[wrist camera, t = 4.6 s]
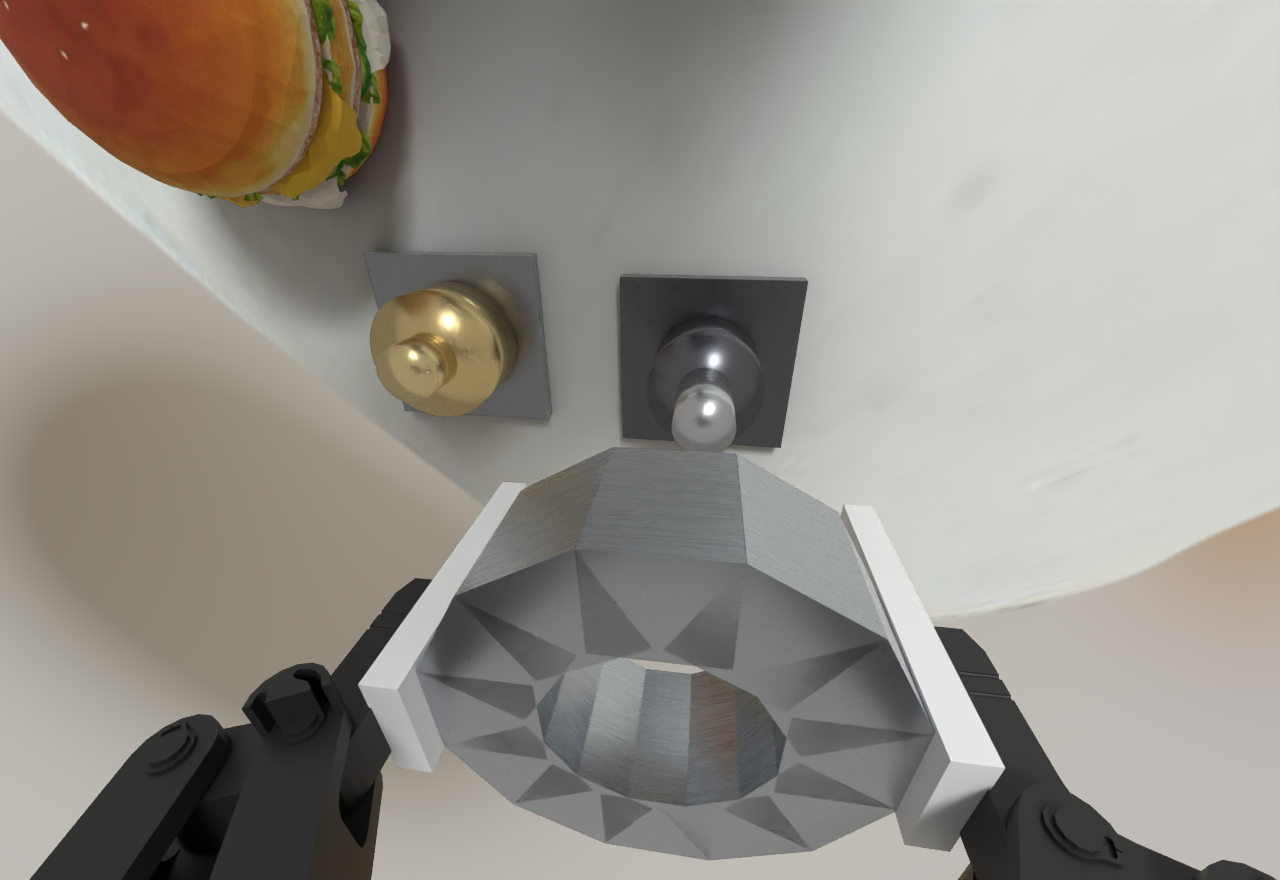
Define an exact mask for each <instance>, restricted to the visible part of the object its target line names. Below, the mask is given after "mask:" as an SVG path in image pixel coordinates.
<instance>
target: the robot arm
mask: <svg viewBox="0 0 1280 880" xmlns="http://www.w3.org/2000/svg"><path fill="white" fill-rule="evenodd" d="M524 488H527V483H513V482H502V484H501V485H500V486H499V488H498V489H497V491H496V492H495V493H494V495H493V496H492V498H491V499H490V500H489V502H488V503H487V505H486V506H485V507H484V509H483V510H482V512H481V513H480V514H479V516H478V517H477V519H476V520H475V521H474V523H473V524H472V526H471V527H470V529H469V530H468V531H467V533H466V534H465V535H464V537H463V538H462V540H461V541H460V542H459V544H458V545H457V547H456V548H455V550H454V551H453V552H452V554H451V555H450V557H449V558H448V559H447V561H446V562H445V563H444V565H443V566H442V568H441V569H440V571H439V572H438V573H437V575H436V576H435V577H434V579H433V580H430V579H418V578H415V579H414V580H412V581H411V582H410V583H408V584H407V585H406V586H404V587H403V588H402V589H400V590H399V591H398V592H396V593H395V595H394V596H393V597H392V599H391V600H390V601H389V602H388V604H387V605H386V606H385V607H384V609H383V610H382V613H381V615H380V614H379V615H378V616H377V618H376V619H375V620H374V621H373V623H372V624H371V625H370V629H369V630H366V632H365V633H364V634H363V635H362V637H361V638H360V640H359V641H358V642H357V643H356V644H355V646H354V647H353V648H352V650H351V651H350V652H349V653H348V655H347V656H346V657H345V658H344V660H343V661H342V662H341V664H340V665H339V666H338V668H337V669H336V670H335V671H334V673H333V674H332V675H331V676H330V674H329V672H328V671H327V670H326V669H325V667H324V666H322V665H319V664H315V663H306V664H298V665H295V666H292V667H290V668H287V669H285V670H282V671H280V672H279V673H277V674H275V675H274V676H272V677H271V678H269V679H268V680H266V681H265V682H263V683H262V684H261V685H260V686H259V687H258V688H257V689H256V690H255V691H254V692H253V693H252V694H251V695H250V696H249V698H248V700H247V701H246V703H245V704H244V706H243V708H242V710H243V712H244V713H245V715H246V716H247V718H248V719H249V720H250V722H251V724H246V725H241V726H235V727H231V728H226V729H223V728H222V726H221V725H220V724H219V722H218V721H217V720H216V719H215V718H214V717H213V716H210V715H201V714H198V715H194V716H190V717H186V718H182V719H180V720H178V721H176V722H174V723H172V724H170V725H168V726H166V727H164V728H162V729H161V730H160V731H158V732H157V733H155V734H154V735H153V736H151V737H150V738H148V739H147V740H146V741H145V742H144V743H143V744H142V745H141V746H140V747H139V748H138V749H137V750H136V751H135V752H134V753H133V754H132V755H131V756H130V757H129V758H128V760H127V761H126V762H125V763H124V764H123V766H122V767H121V768H120V770H119V771H118V772H117V773H116V774H115V775H114V777H113V778H112V779H111V781H110V782H109V783H108V784H107V785H106V787H105V788H104V789H103V790H102V791H101V793H100V794H99V795H98V796H97V798H96V799H95V800H94V801H93V802H92V804H91V805H90V806H89V807H88V809H87V810H86V811H85V812H84V814H83V815H82V816H81V817H80V818H79V820H78V821H77V822H76V824H75V825H74V826H73V827H72V828H71V830H70V831H69V832H68V833H67V834H66V836H65V837H64V838H63V840H62V841H61V842H60V843H59V844H58V846H57V847H56V848H55V849H54V850H53V852H52V853H51V854H50V855H49V856H48V858H47V859H46V860H45V861H44V863H43V864H42V865H41V866H40V868H39V869H38V870H37V871H36V873H35V874H34V875H33V876H32V877H31V879H30V880H371V876H372V868H373V860H374V852H375V844H376V836H377V828H378V820H379V813H380V805H381V797H382V789H383V782H382V774H381V772H380V771H381V769H382V767H383V765H384V763H385V762H386V760H387V758H388V756H389V755H390V753H391V754H392V756H393V758H394V761H395V763H396V765H397V767H398V768H403V769H409V770H416V771H423V772H429V773H432V772H433V771H434V768H435V767H436V764H437V762H438V760H439V758H440V756H441V754H442V752H443V750H444V748H445V746H444V744H443V742H442V739H441V737H440V734H439V731H438V729H437V726H436V723H435V721H434V718H433V716H432V713H431V710H430V708H429V705H428V702H427V700H426V697H425V694H424V692H423V689H422V687H421V684H420V681H419V679H418V676H417V673H416V669H417V667H418V665H419V664H420V662H421V660H422V658H423V656H424V654H425V652H426V650H427V648H428V646H429V644H430V642H431V640H432V638H433V636H434V634H435V632H436V630H437V628H438V626H439V624H440V622H441V620H442V618H443V616H444V614H445V612H446V610H447V608H448V606H449V604H450V602H451V600H452V599H453V597H454V595H455V593H456V592H457V590H458V589H459V587H460V585H461V584H462V582H463V581H464V579H465V578H466V576H467V574H468V573H469V571H470V570H471V568H472V567H473V565H474V563H475V562H476V560H477V559H478V557H479V555H480V554H481V552H482V551H483V549H484V548H485V546H486V544H487V543H488V541H489V540H490V538H491V537H492V535H493V533H494V532H495V530H496V529H497V527H498V525H499V524H500V522H501V521H502V519H503V518H504V516H505V514H506V513H507V511H508V510H509V508H510V507H511V505H512V503H513V502H514V500H515V499H516V497H517V496H518V494H519V492H520V491H521V490H522V489H524ZM841 519H842V521H843V523H844V525H845V527H846V529H847V532H848V534H849V536H850V538H851V540H852V542H853V544H854V546H855V548H856V550H857V552H858V554H859V556H860V558H861V560H862V562H863V564H864V566H865V568H866V570H867V572H868V575H869V577H870V579H871V581H872V583H873V585H874V587H875V589H876V591H877V593H878V596H879V598H880V601H881V603H882V605H883V608H884V610H885V613H886V615H887V618H888V620H889V622H890V625H891V627H892V630H893V632H894V635H895V637H896V639H897V642H898V644H899V647H900V649H901V652H902V654H903V657H904V659H905V661H906V664H907V666H908V669H909V671H910V674H911V676H912V678H913V681H914V683H915V686H916V688H917V691H918V693H919V695H920V698H921V700H922V703H923V705H924V708H925V710H926V713H927V715H928V717H929V720H930V722H931V725H932V727H933V730H934V732H935V734H934V736H933V738H932V740H931V742H930V744H929V746H928V748H927V750H926V752H925V754H924V756H923V758H922V760H921V762H920V764H919V766H918V768H917V770H916V772H915V774H914V776H913V778H912V780H911V782H910V784H909V786H908V788H907V790H906V792H905V794H904V796H903V798H902V800H901V802H900V804H899V806H898V808H897V810H896V812H895V814H896V817H897V820H898V824H899V827H900V831H901V834H902V838H903V841H904V844H905V845H910V846H917V847H923V848H929V849H936V850H943V851H949V852H950V851H951V849H952V848H953V846H954V845H955V843H956V842H957V840H958V839H959V837H960V836H961V839H962V842H963V844H964V847H965V849H966V852H967V855H968V857H969V860H970V864H969V865H968V867H967V868H966V870H965V871H964V872H963V873H962V875H961V876H960V878H959V879H958V880H1276V879H1274V878H1273V877H1271V876H1270V875H1267V874H1265V873H1263V872H1261V871H1258V870H1257V869H1254V868H1252V867H1250V866H1248V865H1246V864H1242V863H1237V862H1231V861H1226V860H1221V861H1218V862H1216V863H1213V864H1211V865H1209V866H1207V867H1206V868H1205V869H1203V870H1202V871H1199V870H1197V869H1195V868H1192V867H1190V866H1187V865H1185V864H1183V863H1181V862H1178V861H1176V860H1173V859H1171V858H1169V857H1167V856H1164V855H1162V854H1160V853H1157V852H1155V851H1153V850H1150V849H1148V848H1146V847H1143V846H1141V845H1139V844H1136V843H1135V842H1133V841H1131V840H1129V839H1126V838H1125V837H1123V836H1121V835H1119V834H1117V833H1116V831H1115V830H1114V829H1113V827H1112V826H1111V824H1110V823H1108V822H1107V821H1106V820H1105V819H1104V818H1103V817H1102V816H1101V815H1100V814H1099V813H1098V812H1097V811H1096V810H1095V809H1093V808H1092V807H1091V806H1090V805H1089V804H1087V803H1085V802H1084V801H1082V800H1081V799H1079V798H1078V797H1076V796H1075V795H1073V794H1071V793H1070V792H1069V791H1068V789H1067V788H1066V787H1065V785H1064V784H1063V782H1062V781H1061V779H1060V778H1059V776H1058V774H1057V773H1056V771H1055V769H1054V767H1053V766H1052V764H1051V762H1050V761H1049V759H1048V757H1047V756H1046V754H1045V752H1044V751H1043V749H1042V747H1041V746H1040V744H1039V742H1038V741H1037V739H1036V737H1035V735H1034V734H1033V732H1032V730H1031V729H1030V727H1029V725H1028V724H1027V722H1026V720H1025V719H1024V717H1023V715H1022V713H1021V712H1020V710H1019V708H1018V707H1017V705H1016V703H1015V702H1014V701H1013V700H1011V697H1010V696H1011V695H1010V693H1009V691H1008V690H1007V688H1006V686H1005V685H1004V683H1003V681H1002V680H1000V679H999V674H998V673H997V671H996V669H995V668H994V666H993V664H992V663H991V661H990V659H989V658H988V656H987V655H986V652H985V651H984V650H983V649H982V648H981V647H980V646H979V645H978V644H977V643H976V642H975V641H974V640H973V639H972V638H971V637H970V636H969V635H968V634H967V633H966V632H964V631H963V630H962V629H955V628H944V627H934V626H933V625H932V623H931V621H930V619H929V617H928V615H927V613H926V611H925V609H924V607H923V605H922V603H921V601H920V599H919V597H918V595H917V593H916V591H915V589H914V587H913V585H912V583H911V581H910V579H909V577H908V575H907V573H906V571H905V569H904V567H903V565H902V563H901V561H900V559H899V557H898V556H897V554H896V552H895V550H894V548H893V546H892V544H891V542H890V540H889V538H888V536H887V534H886V532H885V530H884V528H883V526H882V524H881V522H880V520H879V518H878V516H877V514H876V512H875V510H874V508H873V506H861V505H846V504H843V508H842V513H841Z"/></svg>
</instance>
